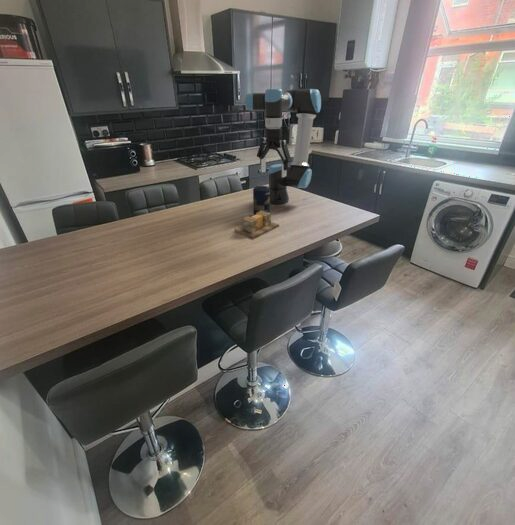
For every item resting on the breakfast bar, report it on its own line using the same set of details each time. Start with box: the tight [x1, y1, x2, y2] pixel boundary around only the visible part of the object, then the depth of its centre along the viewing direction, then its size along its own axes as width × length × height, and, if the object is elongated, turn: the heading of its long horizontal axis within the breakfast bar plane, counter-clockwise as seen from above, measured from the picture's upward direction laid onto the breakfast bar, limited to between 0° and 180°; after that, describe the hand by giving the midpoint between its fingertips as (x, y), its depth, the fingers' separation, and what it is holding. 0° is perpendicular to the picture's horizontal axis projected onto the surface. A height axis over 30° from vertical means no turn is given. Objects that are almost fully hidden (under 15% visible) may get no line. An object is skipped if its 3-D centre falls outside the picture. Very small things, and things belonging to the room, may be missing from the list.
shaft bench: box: [234, 211, 280, 240], centre depth 154 cm, size 20×14×7 cm
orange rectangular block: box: [250, 214, 263, 228], centre depth 154 cm, size 5×4×6 cm
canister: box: [252, 185, 271, 216], centre depth 167 cm, size 10×10×18 cm
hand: (273, 174), depth 145 cm, fingers open, 13 cm apart
